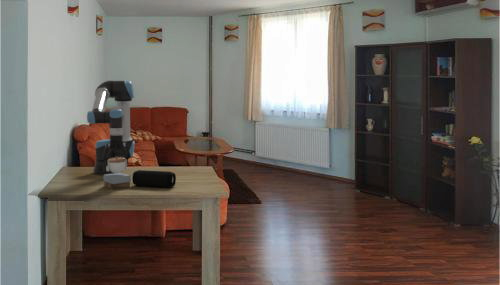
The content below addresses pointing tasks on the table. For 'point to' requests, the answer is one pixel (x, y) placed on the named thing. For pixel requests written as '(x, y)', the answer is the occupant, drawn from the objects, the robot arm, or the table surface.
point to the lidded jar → (116, 164)
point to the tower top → (117, 178)
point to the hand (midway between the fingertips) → (116, 170)
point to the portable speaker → (154, 178)
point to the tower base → (117, 185)
